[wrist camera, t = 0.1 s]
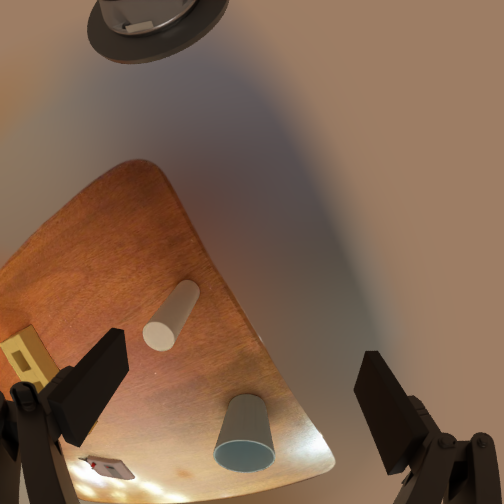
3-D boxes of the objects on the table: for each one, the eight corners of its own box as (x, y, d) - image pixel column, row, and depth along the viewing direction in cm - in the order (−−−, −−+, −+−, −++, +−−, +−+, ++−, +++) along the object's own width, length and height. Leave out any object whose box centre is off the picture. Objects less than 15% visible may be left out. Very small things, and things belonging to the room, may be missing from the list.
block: (71, 423, 43) (63, 435, 39) (11, 335, 39) (-1, 344, 35) (98, 421, 42) (89, 434, 38) (31, 324, 38) (18, 333, 34)
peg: (172, 284, 35) (136, 327, 24) (193, 275, 35) (163, 317, 23) (183, 305, 36) (153, 355, 24) (204, 297, 36) (180, 346, 24)
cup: (277, 419, 40) (279, 469, 30) (229, 425, 40) (222, 474, 30) (268, 384, 38) (269, 437, 28) (216, 391, 39) (205, 442, 29)
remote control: (142, 476, 46) (138, 486, 43) (91, 468, 47) (87, 476, 44) (128, 460, 45) (124, 469, 42) (77, 452, 46) (72, 460, 43)
